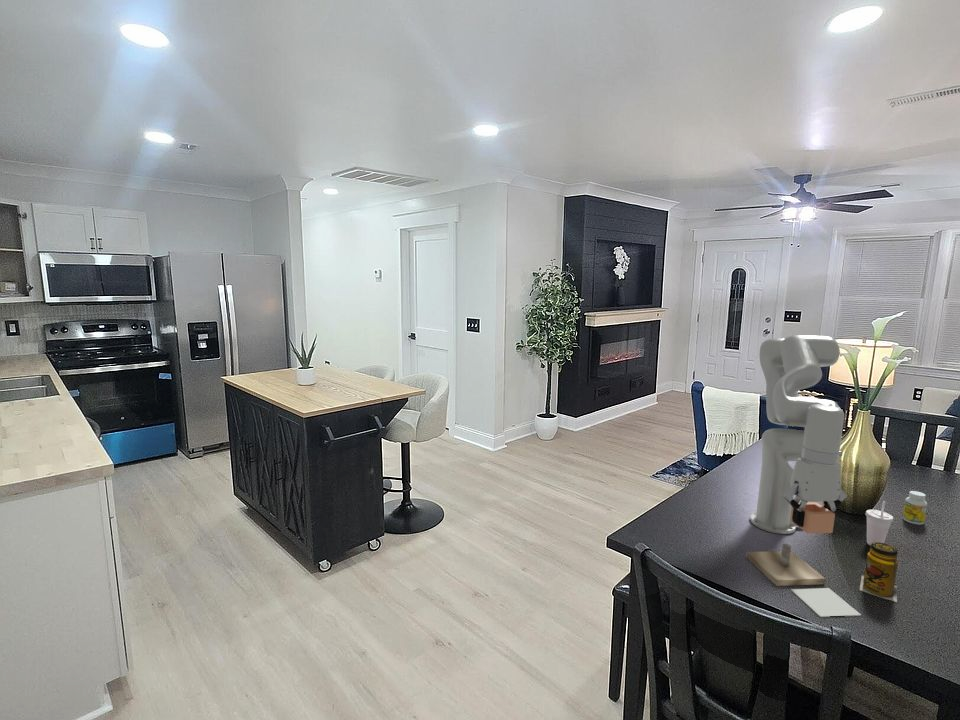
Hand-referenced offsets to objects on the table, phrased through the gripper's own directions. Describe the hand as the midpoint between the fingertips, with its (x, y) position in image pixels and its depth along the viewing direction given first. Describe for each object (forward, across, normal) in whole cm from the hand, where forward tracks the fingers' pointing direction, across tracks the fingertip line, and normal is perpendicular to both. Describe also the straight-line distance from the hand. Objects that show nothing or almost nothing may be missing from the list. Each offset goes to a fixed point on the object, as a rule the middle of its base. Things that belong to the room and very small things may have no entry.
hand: (811, 523), depth 124 cm
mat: (+17, -1, +6) cm, 18 cm away
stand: (+17, 0, -7) cm, 19 cm away
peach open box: (+1, 0, 0) cm, 1 cm away
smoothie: (+17, -36, -19) cm, 44 cm away
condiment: (+17, -19, +1) cm, 26 cm away
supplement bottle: (+16, -60, -32) cm, 70 cm away
